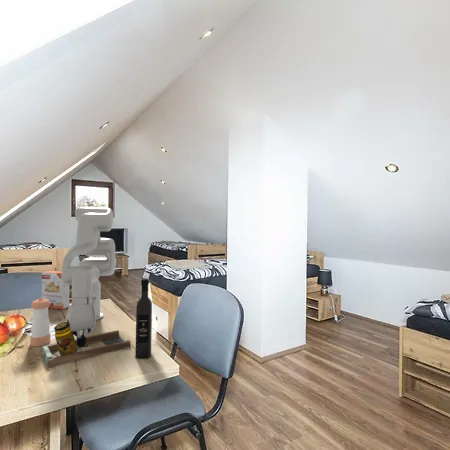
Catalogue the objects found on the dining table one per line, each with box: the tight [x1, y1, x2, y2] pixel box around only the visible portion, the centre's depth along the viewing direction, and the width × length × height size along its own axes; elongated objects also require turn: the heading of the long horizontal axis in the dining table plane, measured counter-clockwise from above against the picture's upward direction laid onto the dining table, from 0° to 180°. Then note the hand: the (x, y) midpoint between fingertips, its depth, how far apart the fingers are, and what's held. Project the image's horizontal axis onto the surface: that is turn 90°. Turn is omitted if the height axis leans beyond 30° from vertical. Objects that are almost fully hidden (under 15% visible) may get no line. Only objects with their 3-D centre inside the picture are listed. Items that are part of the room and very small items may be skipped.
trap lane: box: [41, 329, 132, 368], centre depth 125 cm, size 15×30×3 cm, turn 129°
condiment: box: [53, 321, 83, 357], centre depth 119 cm, size 7×8×12 cm
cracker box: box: [41, 270, 71, 310], centre depth 180 cm, size 14×6×21 cm, turn 81°
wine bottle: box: [134, 278, 153, 359], centre depth 121 cm, size 6×6×30 cm
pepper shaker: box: [29, 297, 51, 347], centre depth 130 cm, size 7×7×19 cm
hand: (81, 346), depth 123 cm, fingers closed
